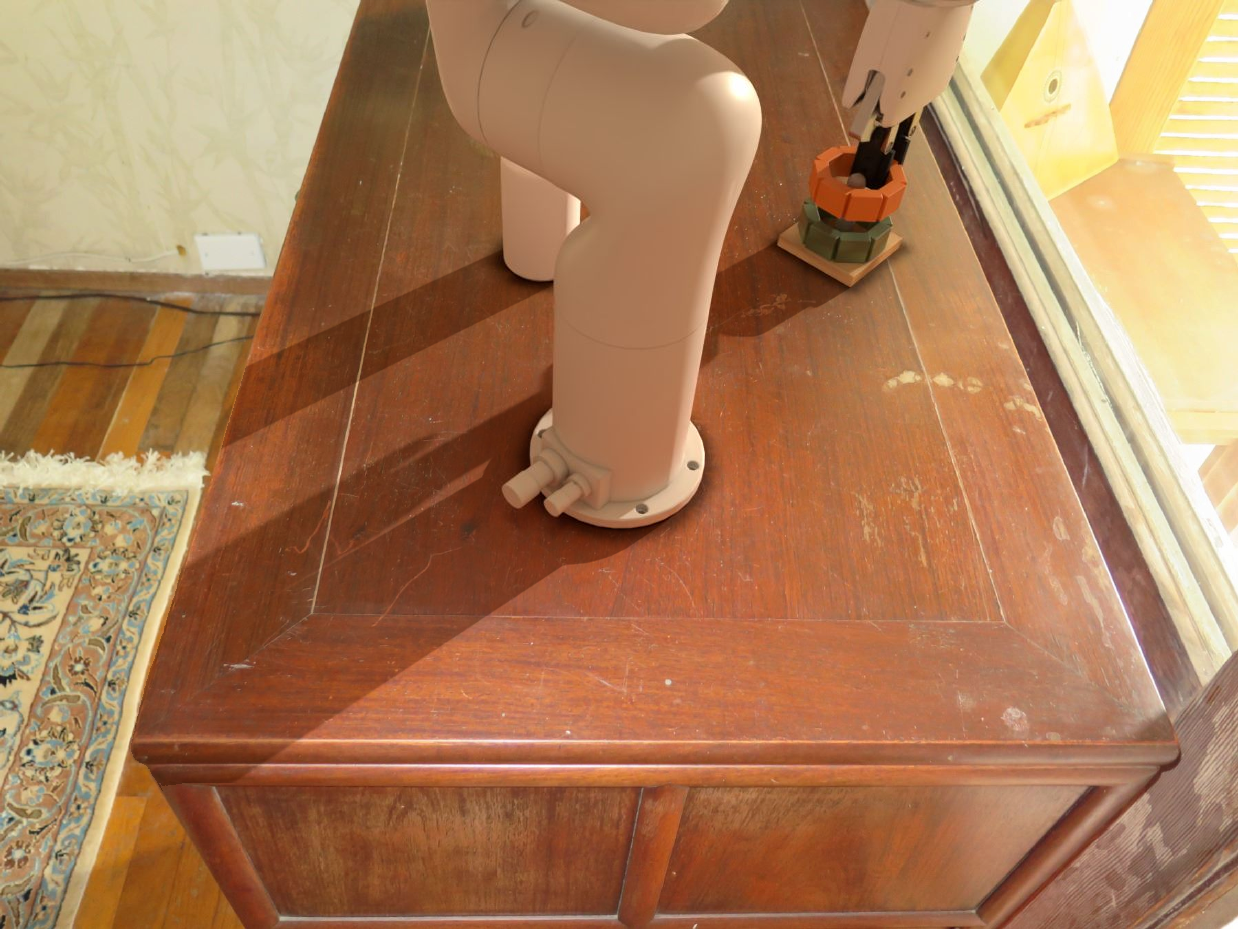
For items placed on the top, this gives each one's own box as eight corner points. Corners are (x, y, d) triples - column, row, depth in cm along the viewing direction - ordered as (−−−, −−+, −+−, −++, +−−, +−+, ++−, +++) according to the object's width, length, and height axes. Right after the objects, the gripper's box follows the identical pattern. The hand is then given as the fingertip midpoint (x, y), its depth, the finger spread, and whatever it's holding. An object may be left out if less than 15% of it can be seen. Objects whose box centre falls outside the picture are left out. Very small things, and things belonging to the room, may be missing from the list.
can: (568, 290, 84) (572, 166, 74) (494, 276, 84) (489, 152, 75) (585, 243, 88) (591, 121, 78) (514, 231, 88) (512, 108, 79)
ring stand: (850, 287, 86) (872, 215, 80) (776, 245, 89) (793, 172, 83) (899, 248, 90) (923, 176, 84) (827, 209, 93) (846, 137, 87)
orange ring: (863, 233, 82) (870, 208, 80) (791, 191, 85) (797, 167, 83) (914, 198, 86) (922, 174, 84) (844, 159, 89) (850, 135, 87)
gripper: (948, -81, 78) (885, 129, 92) (836, -24, 70) (786, 196, 84) (1033, -48, 75) (955, 163, 89) (927, 15, 67) (859, 236, 81)
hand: (873, 178), depth 87 cm, fingers closed on orange ring, 1 cm apart
